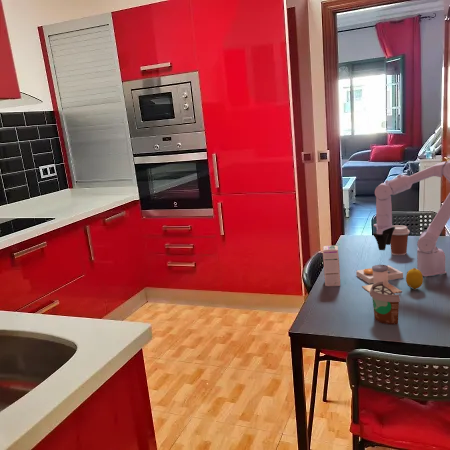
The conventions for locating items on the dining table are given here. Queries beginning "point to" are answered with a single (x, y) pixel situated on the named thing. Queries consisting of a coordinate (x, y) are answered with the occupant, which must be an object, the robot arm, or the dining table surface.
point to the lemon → (414, 278)
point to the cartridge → (380, 274)
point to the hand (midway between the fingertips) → (384, 247)
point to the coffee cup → (399, 240)
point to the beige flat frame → (369, 278)
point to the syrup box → (331, 265)
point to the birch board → (391, 287)
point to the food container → (385, 304)
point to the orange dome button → (368, 271)
